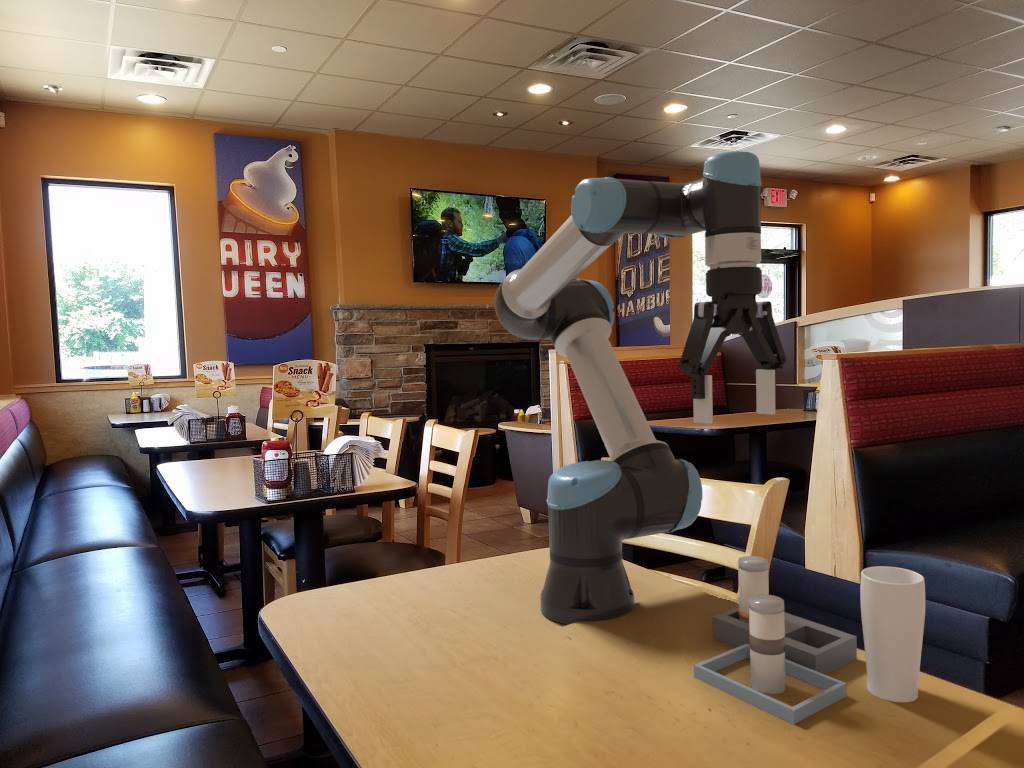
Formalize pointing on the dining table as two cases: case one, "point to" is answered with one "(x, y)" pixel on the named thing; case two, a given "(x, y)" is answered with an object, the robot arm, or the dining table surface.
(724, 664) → the parts tray
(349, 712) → the dining table surface
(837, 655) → the fuse block
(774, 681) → the cylinder
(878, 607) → the drinking glass
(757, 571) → the fuse
